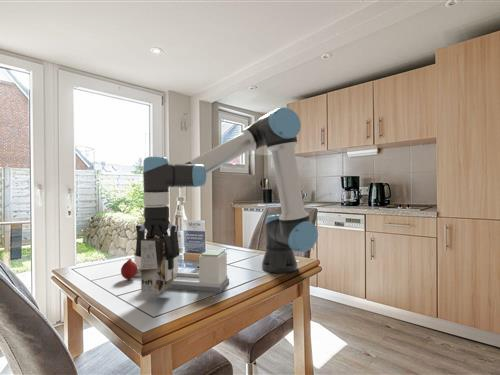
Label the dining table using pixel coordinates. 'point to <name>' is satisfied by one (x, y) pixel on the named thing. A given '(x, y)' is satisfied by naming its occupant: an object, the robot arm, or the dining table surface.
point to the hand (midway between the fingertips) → (158, 278)
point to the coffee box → (154, 266)
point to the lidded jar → (137, 260)
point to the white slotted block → (204, 273)
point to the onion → (129, 269)
